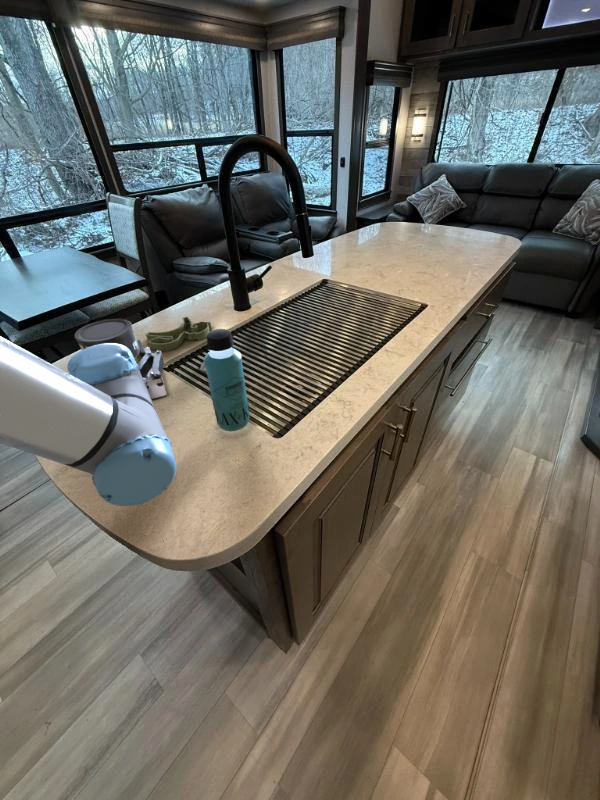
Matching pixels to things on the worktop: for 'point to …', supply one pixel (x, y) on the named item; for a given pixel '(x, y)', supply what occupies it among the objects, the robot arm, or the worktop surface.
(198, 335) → the cookie cutter
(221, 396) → the beverage bottle
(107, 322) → the coffee can
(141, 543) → the worktop surface
